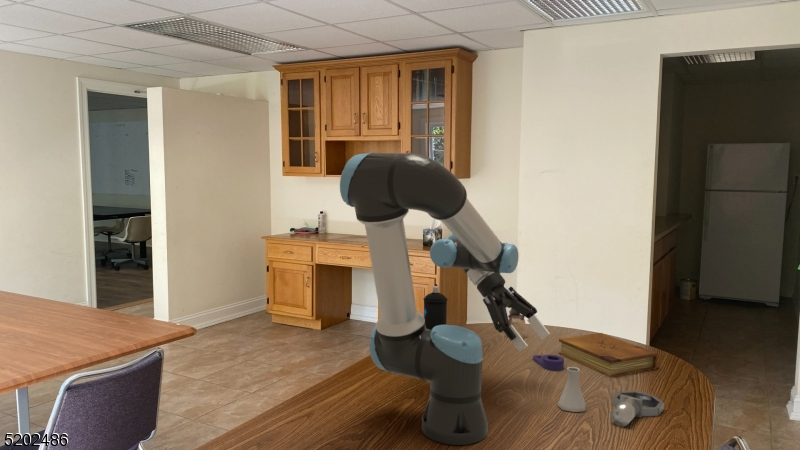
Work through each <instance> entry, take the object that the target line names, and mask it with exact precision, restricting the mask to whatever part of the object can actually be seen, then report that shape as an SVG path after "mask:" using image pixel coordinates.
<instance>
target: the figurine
mask: <svg viewBox="0 0 800 450" xmlns="http://www.w3.org/2000/svg"><path fill="white" fill-rule="evenodd" d="M508 312H509V315H507V316H508V320H509V326H510V325H513V326H514V328H515V329H516V330H517V332H518V333H519V334H520V336H521V337H522V338H523V339H525V338H527V334H528V333H527V332H528V331H527V323H526V320H525V319H526V317H525V316H523V315H522V314H520V313H519V312H517V311H516V310H514V309H512V308H510V310H509V311H508ZM505 335H506V334H505ZM506 338H509V337H508V336H507V335H506Z"/></svg>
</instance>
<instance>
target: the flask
mask: <svg viewBox="0 0 800 450" xmlns="http://www.w3.org/2000/svg"><path fill="white" fill-rule="evenodd" d="M566 371H567V378H566V382H565V385H564V388H563V391H562V393H561V395H560V398H559V399H558V401H557V402H558V403H557V404H556V405H557V407H558V408H559V409H561V410H562V411H567V412H573V413H580V412H586V410H587V404H586V401H585V398H584V396H583V392H582V389H581V384H580V378H579V375H580V374H579V373H580V371H581V369H580V368H579V367H576V366H575V367H574V366H568V367H567V368H566Z"/></svg>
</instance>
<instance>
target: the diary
mask: <svg viewBox="0 0 800 450" xmlns="http://www.w3.org/2000/svg"><path fill="white" fill-rule="evenodd" d="M558 342H559V343H561V348H560V352H559V351H558V352H557V353H558V354H557V355H559V354H560V355H559V356H561V357H563V358H564V357H565V358H567V359H569V360H570V361H573V362H576V363H577V364H580V365H581V366H584V367H586V368H588V369H590V370H592V371H595V372H598V373H600V374H602V375H604V376H605V377H609V378H610V379H611V377H612V378H616V376H617V377H621V376H620V375H623V376H626V375H625V374H628V375H630V374H629V373H633V374H636V373H635V372H639V373H641V372H640V371H644V372H646V371H645V370H649V371H652V370H651V369H655V370H657V369H658V362H659V361H658V360H659V355H658V353H657V352H654V351H651V350H649V349H646V348H643V347H641V346H638V345H635V344H633V343H629V342H627V341H624V340H621V339H619V338H616V337H614V336H610V335H608V334H605V333H603V332H597V333H596V332H595V333H590V334H589V333H588V334H583V335H576V336H567V337H561V338H558ZM656 368H657V369H656Z"/></svg>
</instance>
